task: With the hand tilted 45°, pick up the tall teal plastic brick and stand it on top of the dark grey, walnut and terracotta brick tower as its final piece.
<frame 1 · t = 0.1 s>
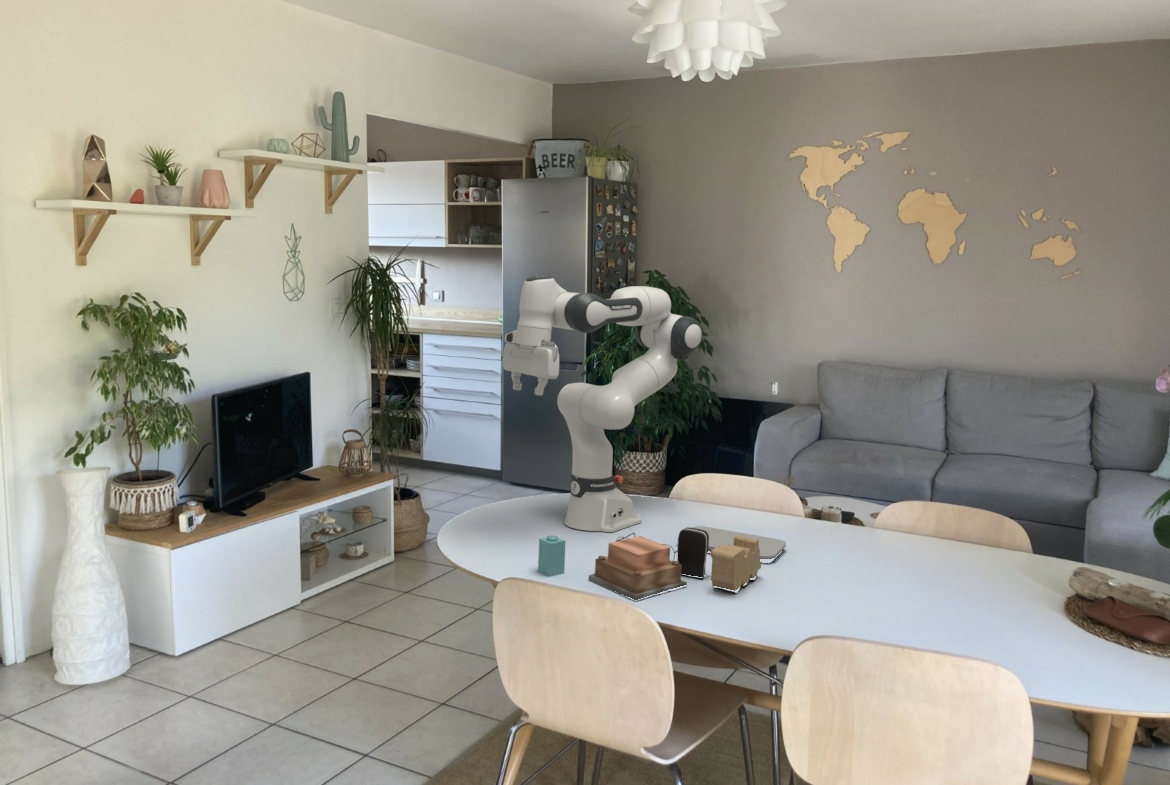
hand: (527, 392, 241), 39 cm above the table, tool pointing down, fingers open, 8 cm apart
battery: (691, 575, 224), on the table
tablet: (731, 549, 246), on the table, touching eyeglasses
brick tower: (637, 583, 217), on the table
eyeglasses: (652, 553, 239), on the table, touching tablet
toy train: (734, 585, 219), on the table
teal brick: (551, 572, 222), on the table
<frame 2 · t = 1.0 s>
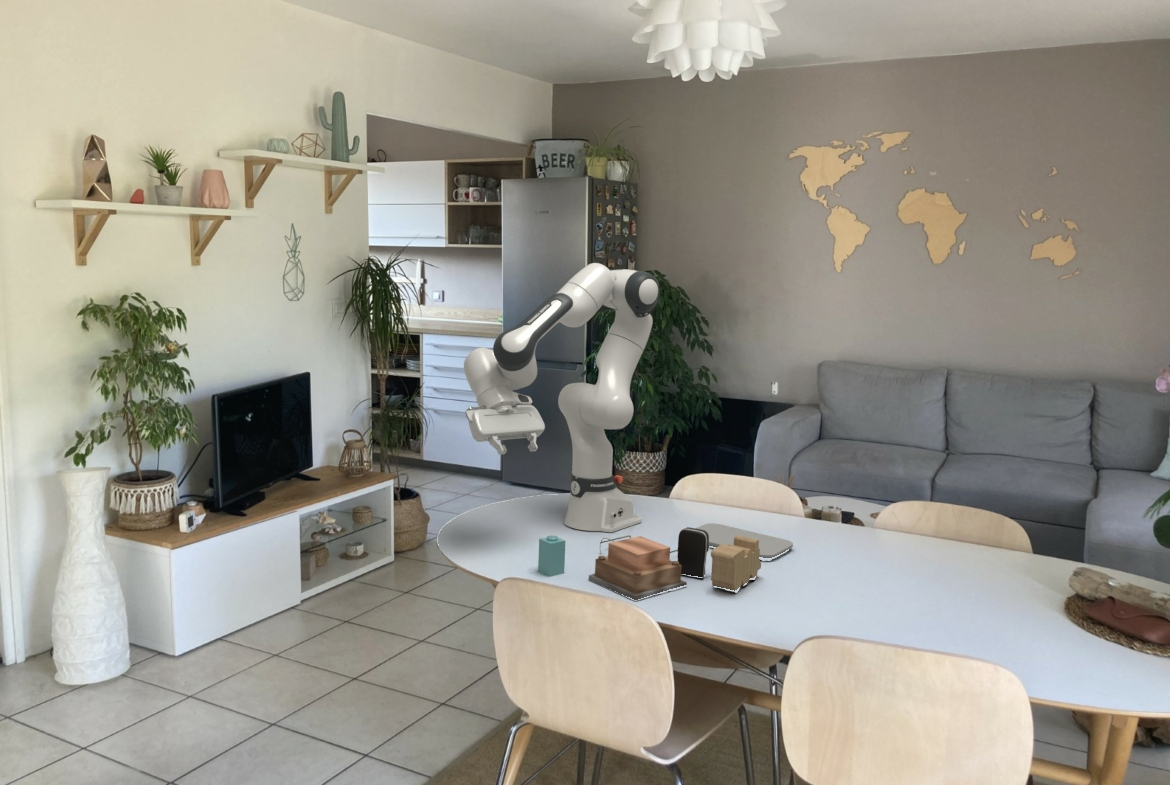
hand: (519, 451, 229), 26 cm above the table, tool tilted 45°, fingers open, 8 cm apart
tablet: (737, 547, 249), on the table
eyeglasses: (639, 557, 238), on the table
everything else where it was.
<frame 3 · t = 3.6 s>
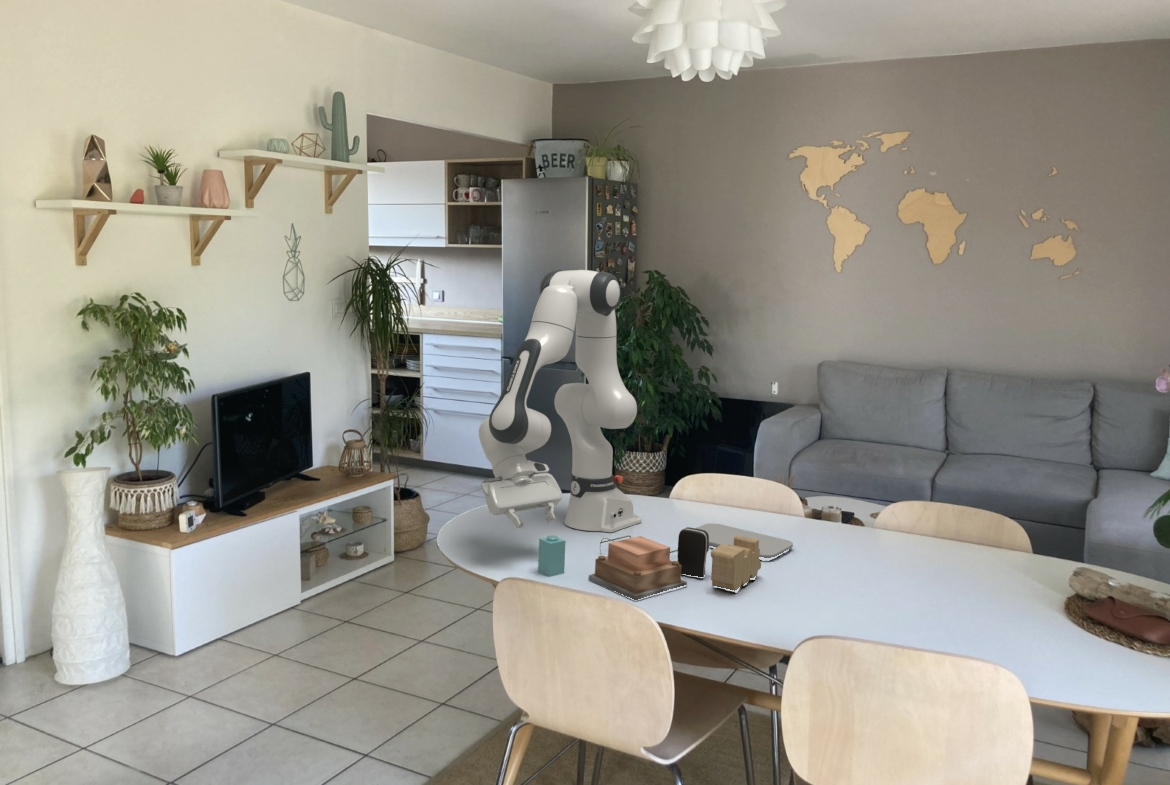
hand: (536, 523, 225), 10 cm above the table, tool tilted 45°, fingers open, 8 cm apart
nothing on the table moved.
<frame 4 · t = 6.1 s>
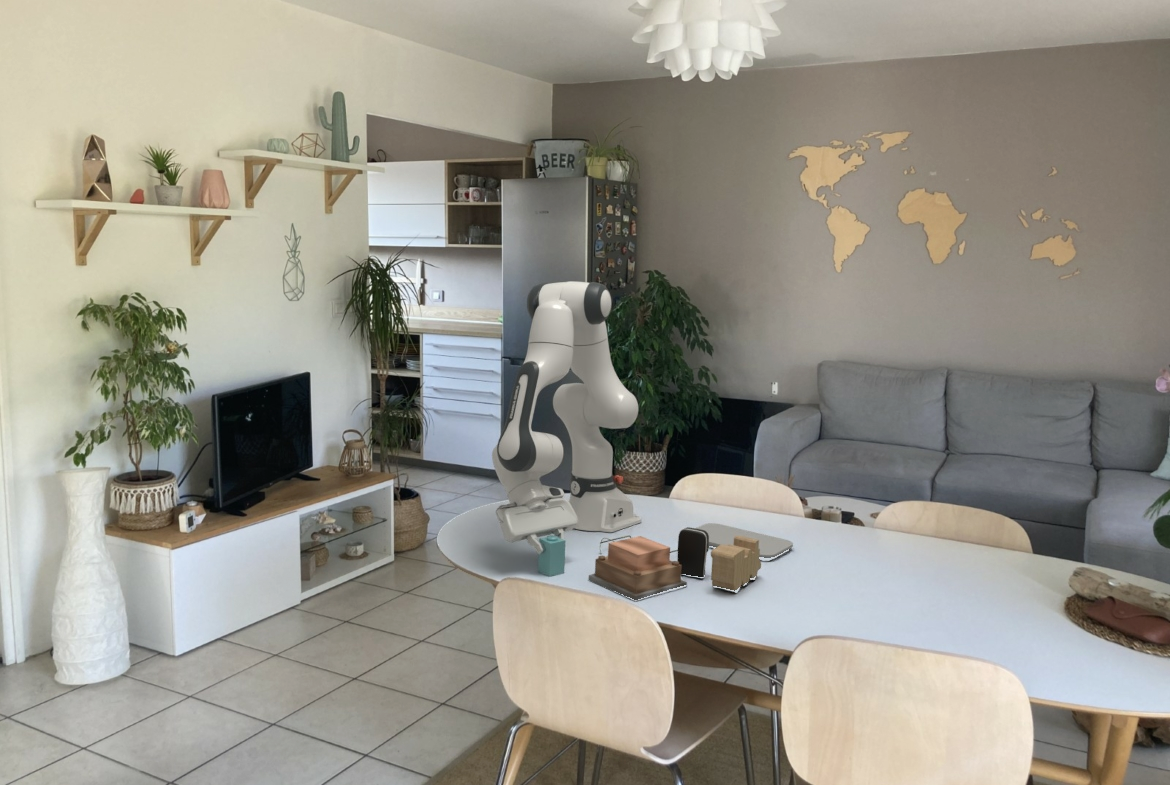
hand: (552, 550, 221), 5 cm above the table, tool tilted 45°, fingers closed on teal brick, 4 cm apart
teal brick: (551, 572, 222), on the table, touching gripper
everything else where it was.
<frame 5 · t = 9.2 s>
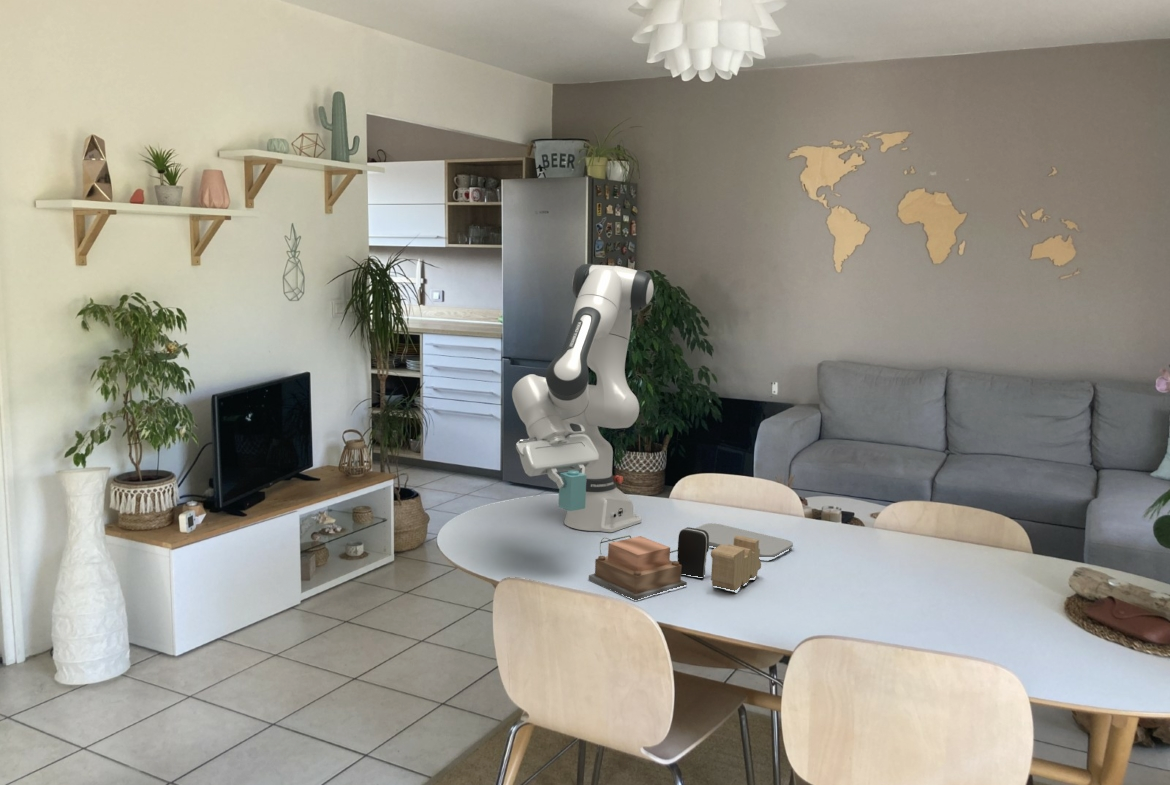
hand: (573, 485, 217), 22 cm above the table, tool tilted 45°, fingers closed on teal brick, 4 cm apart
teal brick: (571, 507, 218), point 16 cm above the table, touching gripper
everything else where it was.
when the fingers open (16 cm above the table, at t = 12.6 s): teal brick drops 1 cm, resting on brick tower.
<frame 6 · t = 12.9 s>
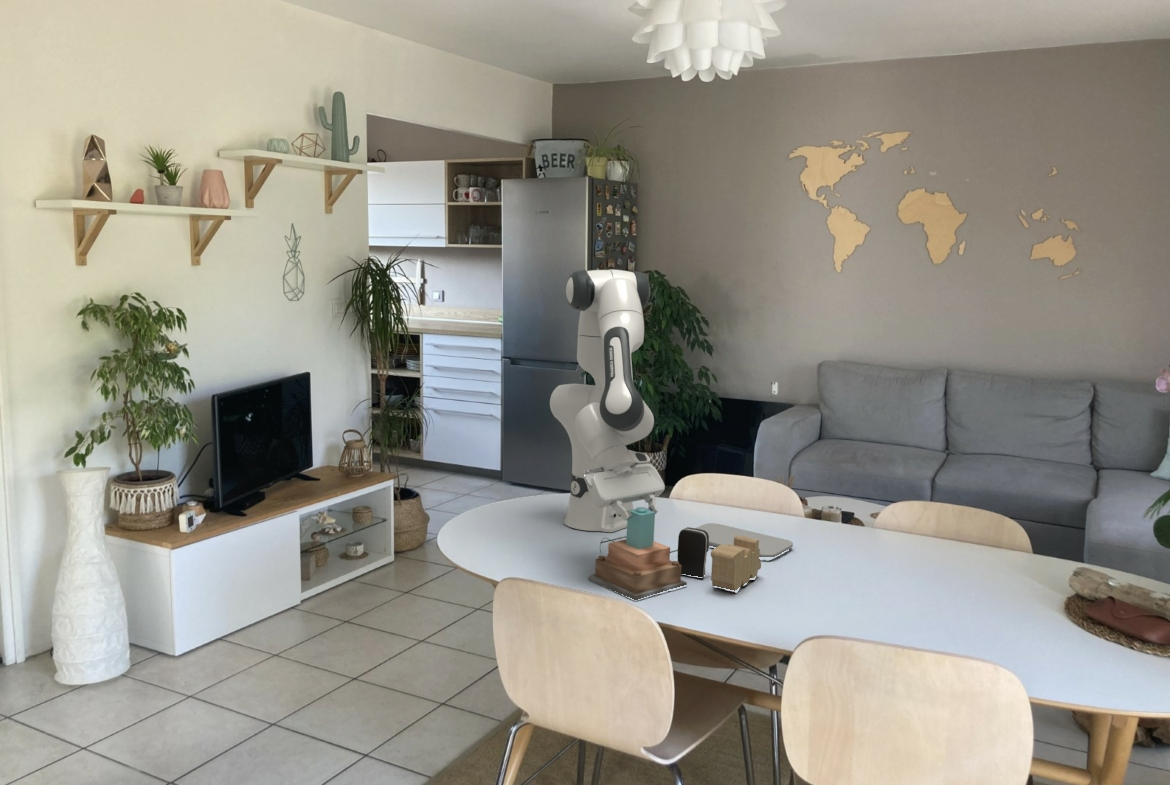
hand: (641, 516, 214), 16 cm above the table, tool tilted 45°, fingers open, 7 cm apart
teal brick: (639, 545, 215), point 9 cm above the table, touching brick tower
everything else where it was.
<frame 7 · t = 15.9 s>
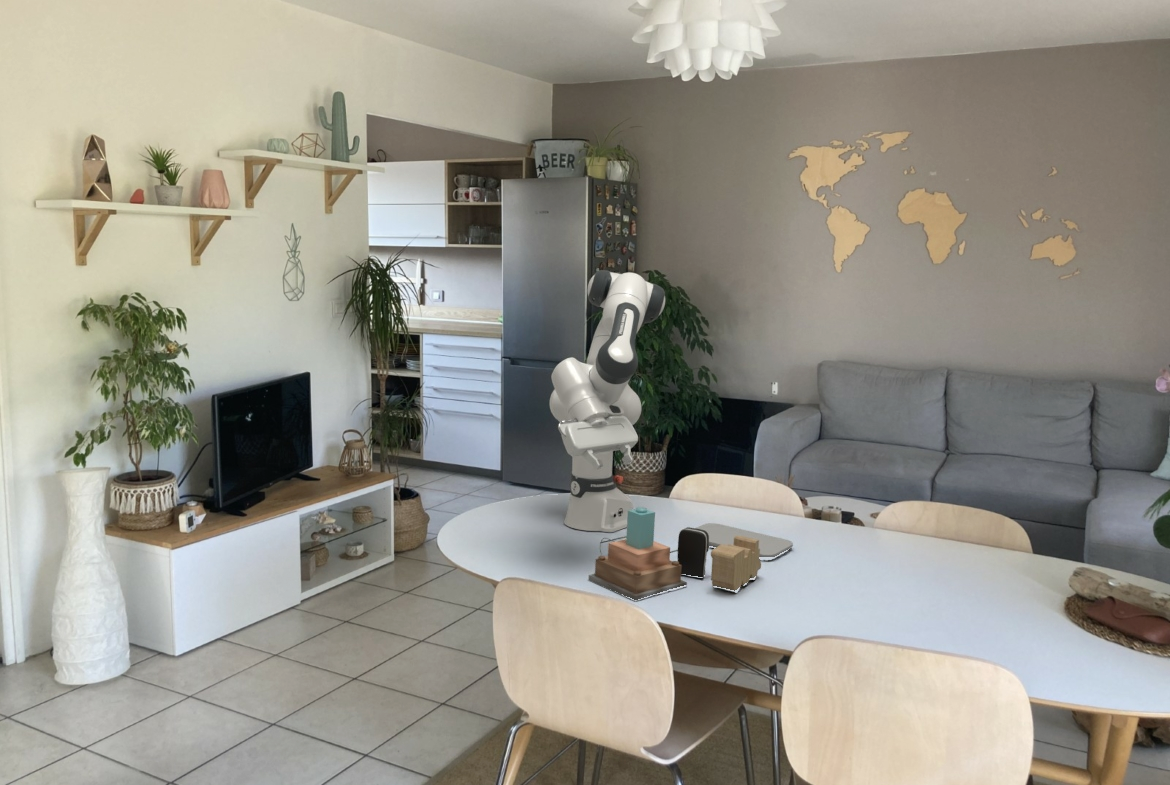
hand: (614, 465, 220), 26 cm above the table, tool tilted 45°, fingers open, 8 cm apart
nothing on the table moved.
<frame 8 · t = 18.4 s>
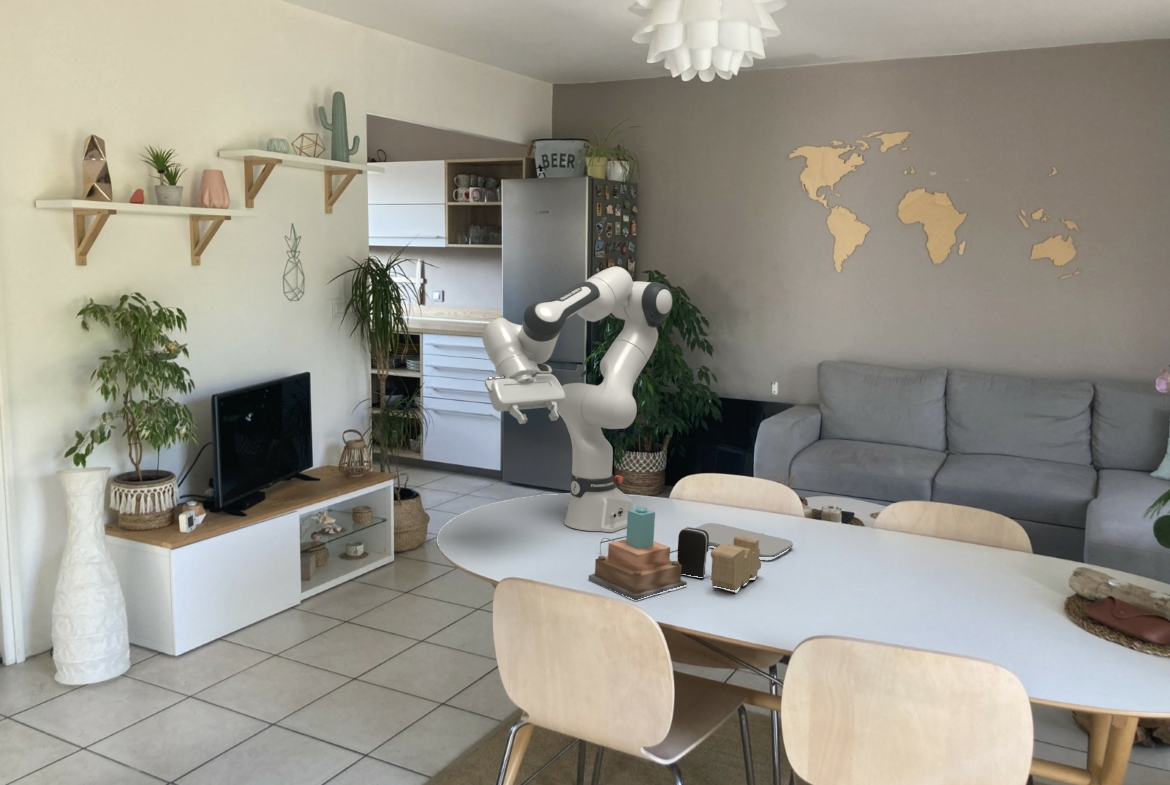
hand: (539, 420, 226), 34 cm above the table, tool tilted 45°, fingers open, 8 cm apart
nothing on the table moved.
at the end: teal brick inside the target area on the brick tower (0.1 cm from its centre), point 9.2 cm above the brick tower's base; teal brick tilted 0°; the gripper is holding nothing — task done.
